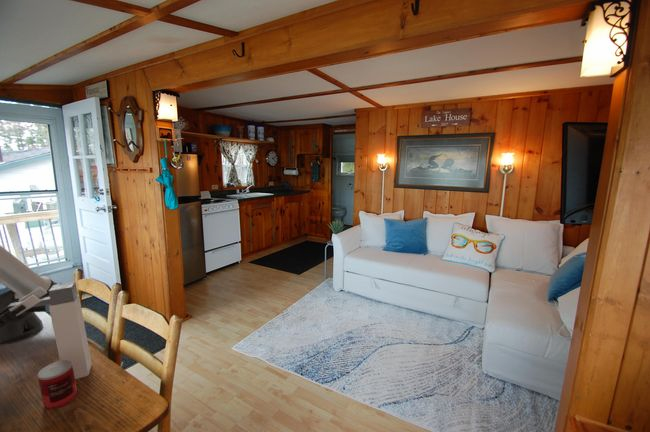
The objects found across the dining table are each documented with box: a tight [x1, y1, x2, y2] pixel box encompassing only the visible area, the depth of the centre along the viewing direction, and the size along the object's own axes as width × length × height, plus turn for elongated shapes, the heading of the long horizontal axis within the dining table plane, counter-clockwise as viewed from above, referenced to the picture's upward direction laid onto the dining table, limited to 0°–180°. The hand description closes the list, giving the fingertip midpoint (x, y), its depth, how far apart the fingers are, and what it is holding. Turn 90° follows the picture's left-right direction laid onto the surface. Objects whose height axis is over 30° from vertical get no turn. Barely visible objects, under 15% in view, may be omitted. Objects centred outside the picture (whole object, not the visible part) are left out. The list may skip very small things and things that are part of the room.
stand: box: [49, 293, 93, 380], centre depth 96 cm, size 6×6×28 cm
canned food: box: [37, 360, 78, 410], centre depth 87 cm, size 8×8×11 cm
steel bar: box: [8, 281, 79, 312], centre depth 90 cm, size 5×16×5 cm, turn 121°
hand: (40, 294), depth 90 cm, fingers open, 6 cm apart
